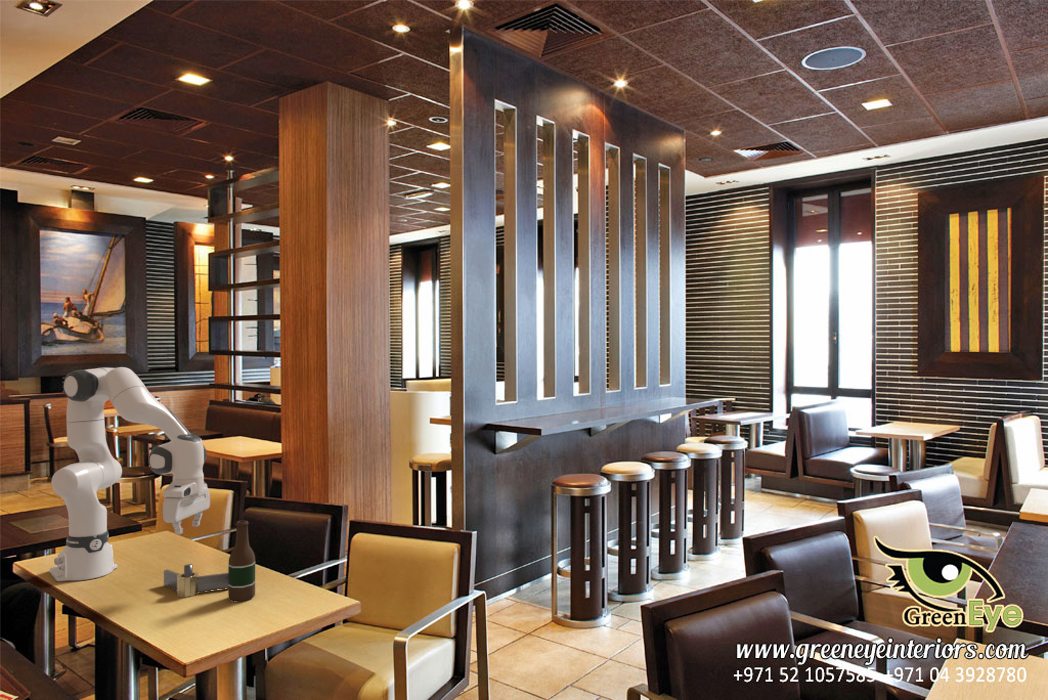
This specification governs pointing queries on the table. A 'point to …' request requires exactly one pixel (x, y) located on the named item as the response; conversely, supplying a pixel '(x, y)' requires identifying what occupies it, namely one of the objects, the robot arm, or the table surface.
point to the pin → (188, 570)
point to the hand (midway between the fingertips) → (187, 529)
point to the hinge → (194, 582)
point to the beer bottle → (241, 566)
